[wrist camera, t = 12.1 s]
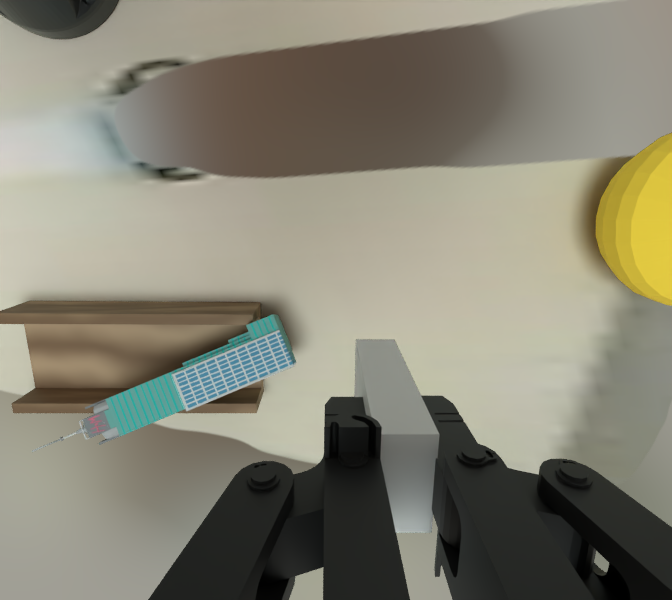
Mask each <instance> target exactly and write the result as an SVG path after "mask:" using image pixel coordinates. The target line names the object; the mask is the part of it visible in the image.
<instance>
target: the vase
mask: <svg viewBox="0 0 672 600" xmlns="http://www.w3.org/2000/svg"><path fill="white" fill-rule="evenodd" d="M596 239H597V243H598V246H599V250H600V253H601V255H602V257H603V258H604V260H605V261H606V263H607V265H608V266H609V268H610V269H611V270H612V271H613V273H614V274H615V275H616V277H617V278H618V279H619V280H620V281H621V282H622V283H624V284H625V285H626V286H627V287H628V288H629V289H631V290H632V291H633V292H635V293H637V294H640V295H642V296H644V297H647V298H649V299H651V300H654V301H657V302H660V303H663V304H666V305H672V133H670V134H668V135H665V136H663V137H660V138H659V139H657V140H656V141H655V142H654V143H652V144H650V145H649V146H648V147H646V148H645V149H644V150H642V151H641V152H640V153H638V154H637V155H636V156H634V157H633V158H632V159H631V160H629V161H628V162H627V163H625V164H624V165H623V167H622V168H621V169H620V170H619V171H618V172H617V174H616V175H615V176H614V177H613V178H612V179H611V181H610V182H609V184H608V186H607V188H606V190H605V192H604V194H603V196H602V197H601V200H600V204H599V208H598V212H597V215H596Z"/></svg>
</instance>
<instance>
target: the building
mask: <svg viewBox="0 0 672 600" xmlns="http://www.w3.org/2000/svg"><path fill="white" fill-rule="evenodd" d="M246 327H247V329H248V332H247V333H244V334H242V335H239V336H237V337H235V338H232V339H230V340H228V342H229V344H227V345H225V346H223V347H220V348H218V349H215V350H213V351H210V352H208V353H206V354H203V355H201V356H198V357H196V358H194V359H191V360H189V361H186V362H184V363H182V364H183V366H184V367H182V368H179V369H177V370H174V371H172V372H170V373H167V374H165V375H162V376H160V377H158V378H155V379H153V380H150V381H148V382H146V383H143V384H141V385H138V386H136V387H134V388H131V389H129V390H126V391H124V392H121V393H119V394H117V395H114V396H112V397H109V398H107V399H104V400H101V401H99V402H96V403H94V404H92V405H89V406H87V407H85V409H88V408H90V407H93V406H94V409H93V411H94V415H92V416H90V417H87V418H85V419H83V420H81V421H84V423H83V424H85V427H84V425H83V428H82V426H81V423H80V421H79V423H80V426H81V429H79V430H77V431H76V432H75V433H72V434H70V435H68V436H65V437H60V439H59V440H56V441H54V442H51V443H49V444H47V445H44V446H42V447H39V448H37V449H35V450H38V449H40V448H43V447H45V446H48V445H50V444H52V443H55V442H57V441H60V440H61V441H63V439H64V438H67V437H70V436H72V435H75V434H79V433H83V434H84V436H85V433H84V432H85V431H86V432H88V433H87V434H88V435H89V438H91V437H94V436H96V435H98V434H101V433H102V434H103V436H104V437H105V438H106V439H105V440H103V441H102V442H100V443H99V444H103V443H105V442H107V441H109V440H112V439H114V438H116V437H119V436H122V435H125V434H127V433H129V432H132V431H134V430H136V429H139V428H141V427H143V426H146V425H148V424H151V423H153V422H155V421H158V420H160V419H163V418H165V417H167V416H170V415H172V414H174V413H177V412H179V411H182V410H184V409H186V412H187V411H189V410H191V409H194V408H196V407H198V406H201V405H203V404H206V403H208V402H210V401H213V400H215V399H217V398H220V397H222V396H225V395H227V394H229V393H232V392H234V391H236V390H239V389H241V388H244V387H246V386H248V385H251V384H253V383H255V382H258V381H260V380H263V379H265V378H267V377H270V376H272V375H274V374H277V373H279V372H282V371H284V370H286V369H289V368H291V367H293V366H294V365H295V363H296V360H295V357H294V355H293V352H292V347H291V344H290V342H289V339H288V338H287V335H286V333H285V331H284V328H283V325H282V322H281V320H280V318H279V316H278V315H274V314H272V315H270V316H267V317H265V318H263V319H260V320H258V321H255V322H253V323H250V324H248V325H246ZM85 439H86V436H85ZM87 439H88V438H87ZM35 450H33V451H35Z"/></svg>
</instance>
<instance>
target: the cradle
mask: <svg viewBox="0 0 672 600" xmlns="http://www.w3.org/2000/svg"><path fill="white" fill-rule="evenodd" d="M260 319H261V302H123V301H28V302H25V303H22V304H19V305H16V306H13V307H11V308H8V309H5V310H2V311H0V324H24V326H25V332H26V337H27V343H28V349H29V354H30V360H31V365H32V371H33V376H34V382H35V389H33V390H32V391H30V392H29V393H27V394H26V395H24V396H23V397H22V398H20V399H18V400H17V401H15V402H13V403H12V408H13V413H94V411H93V409H94V406H93V407H90V408H88V409H85V407H87V406H89V405H92V404H94V403H96V402H99V401H101V400H104V399H107V398H109V397H112V396H114V395H117V394H119V393H121V392H124V391H126V390H129V389H131V388H134V387H136V386H138V385H141V384H143V383H146V382H148V381H150V380H153V379H155V378H158V377H160V376H162V375H165V374H167V373H170V372H172V371H174V370H177V369H179V368H182V367H184V366H183V364H182V363H184V362H186V361H189V360H191V359H194V358H196V357H198V356H201V355H203V354H206V353H208V352H210V351H213V350H215V349H218V348H220V347H223V346H225V345H227V344H229V342H228V340H230V339H232V338H235V337H237V336H239V335H242V334H244V333H247V332H248V329H247V327H246V325H248V324H250V323H253V322H255V321H258V320H260ZM263 392H264V390H263V380H260V381H258V382H255V383H253V384H251V385H248V386H246V387H244V388H241V389H239V390H236V391H234V392H232V393H229V394H227V395H225V396H222V397H220V398H217V399H215V400H213V401H210V402H208V403H206V404H203V405H201V406H198V407H196V408H194V409H191V410H189V411H187V412H186V409H184V410H182V411H179V412H177V413H257V410H258V407H259V404H260V401H261V398H262V395H263Z"/></svg>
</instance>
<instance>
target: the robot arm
mask: <svg viewBox="0 0 672 600" xmlns="http://www.w3.org/2000/svg"><path fill="white" fill-rule="evenodd" d="M117 2H118V0H0V14H1V15H2V16H3V17H5V18H7V19H8V20H10V21H12V22H13V23H15V24H17V25H19V26H20V27H22V28H24V29H26V30H28V31H30V32H32V33H34V34H37V35H40V36H43V37H48V38H54V39H68V38H75V37H78V36H82V35H84V34H87V33H89V32H91V31H92V30H94V29H96V28H97V27H98V26H100V25H101V24H102V23H103V22H104V21H105V20H106V19H107V18H108V17H109V15H110V14H111V13H112V11H113V10H114V8H115V6H116V4H117ZM433 515H434V518H435V521H436V524H437V527H438V534H437V546H436V557H435V577H439V576H440V567H441V565H442V567H443V570H444V573H445V576H446V579H447V583H448V586H449V589H450V593H451V596H452V599H453V600H672V527H671V526H669V525H668V524H666V523H665V522H664V521H662V520H661V519H660V518H658V517H657V516H656V515H654V514H653V513H652V512H650V511H649V510H648V509H646V508H645V507H643V506H642V505H641V504H639V503H638V502H637V501H635V500H634V499H633V498H631V497H630V496H629V495H627V494H626V493H624V492H623V491H622V490H620V489H619V488H618V487H616V486H615V485H614V484H612V483H611V482H610V481H608V480H607V479H606V478H604V477H603V476H602V475H600V474H599V473H597V472H596V471H594V470H592V469H591V468H589V467H587V466H585V465H583V464H580V463H577V462H576V461H572V460H567V459H549V460H547V461H544V462H543V463H542V465H541V466H540V470H539V475H537V474H532V473H527V472H522V471H517V470H514V469H510V468H507V466H506V465H505V463H504V462H503V460H502V459H501V458H500V457H499V456H498V455H497V454H496V452H495V451H493V450H491V449H489V448H487V447H486V446H483V445H480V444H478V443H477V442H476V440H475V438H474V437H473V435H472V434H471V432H470V430H469V429H468V427H467V425H466V424H465V422H463V419H462V417H461V416H460V415H459V412H458V411H457V409H456V407H455V406H454V404H453V403H451V402H450V401H449V400H447V399H446V398H444V397H443V396H421V394H420V392H419V390H418V388H417V386H416V384H415V382H414V380H413V378H412V375H411V373H410V371H409V369H408V367H407V365H406V363H405V361H404V359H403V357H402V354H401V352H400V350H399V348H398V346H397V344H396V342H395V340H372V339H356V353H355V394H354V397H331V398H330V399H329V401H328V402H327V403H326V404H325V427H324V457H323V459H322V460H321V462H320V463H319V464H318V465H316V466H315V467H313V468H312V469H310V470H308V471H305V472H302V473H298V474H293V473H292V471H291V469H289V468H288V467H287V466H286V465H284V464H281V463H278V462H274V461H262V462H258V463H253V464H251V465H249V466H247V467H245V468H243V469H241V470H240V471H239V472H238V474H236V475H235V477H234V478H233V479H232V481H231V482H230V484H229V485H228V487H227V488H226V490H225V491H224V492H223V494H222V495H221V497H220V498H219V499H218V501H217V502H216V504H215V505H214V507H213V508H212V510H211V511H210V512H209V514H208V515H207V517H206V518H205V519H204V521H203V522H202V524H201V525H200V527H199V528H198V529H197V531H196V532H195V534H194V535H193V537H192V538H191V539H190V541H189V543H188V544H187V545H186V547H185V548H184V549H183V551H182V552H181V554H180V555H179V557H178V558H177V559H176V561H175V562H174V564H173V565H172V567H171V568H170V569H169V571H168V572H167V574H166V575H165V577H164V578H163V579H162V581H161V582H160V584H159V585H158V587H157V588H156V589H155V591H154V592H153V594H152V595H151V597H150V598H149V599H148V600H289V597H290V595H291V592H292V589H293V586H294V582H295V576H297V575H300V574H303V573H306V572H309V571H312V570H315V569H318V568H322V567H324V571H323V572H324V573H323V575H324V576H323V578H324V580H323V600H410V598H409V594H408V589H407V584H406V579H405V574H404V569H403V564H402V560H401V555H400V550H399V545H398V540H397V536H396V533H414V532H415V533H418V532H419V533H421V532H422V533H423V532H425V533H427V532H432V521H433ZM596 550H597V551H598V552H599V553H600V554H601V555H602V556H603V557H604V558H605V559H606V560H607V561H608V562H609V568H608V571H607V573H606V572H604V571H603V570H601V569H600V568H599V567H598V566H597V565H596V564H595V563H594V559H595V554H596Z"/></svg>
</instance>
